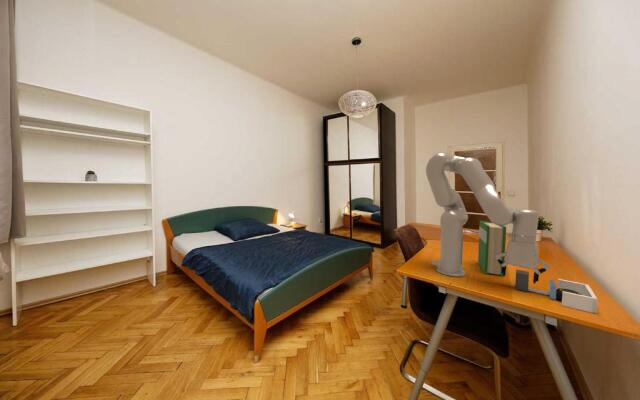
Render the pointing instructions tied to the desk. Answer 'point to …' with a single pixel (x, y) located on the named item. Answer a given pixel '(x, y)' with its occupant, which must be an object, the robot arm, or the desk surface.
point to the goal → (578, 296)
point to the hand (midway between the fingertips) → (518, 278)
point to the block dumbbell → (522, 285)
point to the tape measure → (560, 290)
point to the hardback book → (491, 247)
